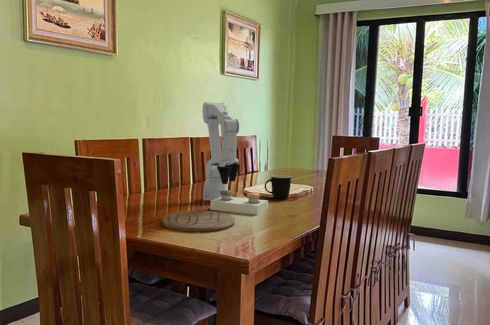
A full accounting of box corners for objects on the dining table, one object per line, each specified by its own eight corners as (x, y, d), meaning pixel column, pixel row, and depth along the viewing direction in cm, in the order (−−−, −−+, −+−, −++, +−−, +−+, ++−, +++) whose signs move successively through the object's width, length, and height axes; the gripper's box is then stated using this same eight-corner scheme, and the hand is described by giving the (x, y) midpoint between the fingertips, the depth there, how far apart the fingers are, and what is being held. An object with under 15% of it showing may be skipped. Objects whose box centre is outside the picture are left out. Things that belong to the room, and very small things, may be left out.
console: (210, 209, 176) (210, 201, 176) (223, 204, 187) (223, 196, 187) (257, 214, 169) (257, 205, 169) (267, 209, 180) (267, 200, 180)
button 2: (244, 203, 174) (245, 194, 174) (249, 200, 179) (249, 192, 179) (257, 204, 172) (257, 195, 172) (261, 202, 177) (262, 193, 177)
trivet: (229, 215, 169) (229, 210, 169) (239, 232, 145) (239, 227, 144) (162, 216, 165) (162, 211, 165) (162, 234, 140) (162, 228, 140)
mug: (290, 196, 208) (290, 175, 207) (290, 200, 200) (291, 178, 198) (264, 195, 209) (265, 174, 208) (263, 199, 200) (264, 177, 199)
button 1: (217, 200, 179) (217, 191, 178) (222, 198, 183) (223, 189, 183) (229, 201, 177) (229, 192, 176) (234, 199, 181) (234, 190, 181)
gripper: (231, 151, 170) (230, 185, 171) (245, 148, 183) (244, 180, 185) (214, 150, 172) (214, 184, 174) (229, 147, 186) (228, 179, 187)
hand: (228, 182), depth 179 cm, fingers open, 7 cm apart
